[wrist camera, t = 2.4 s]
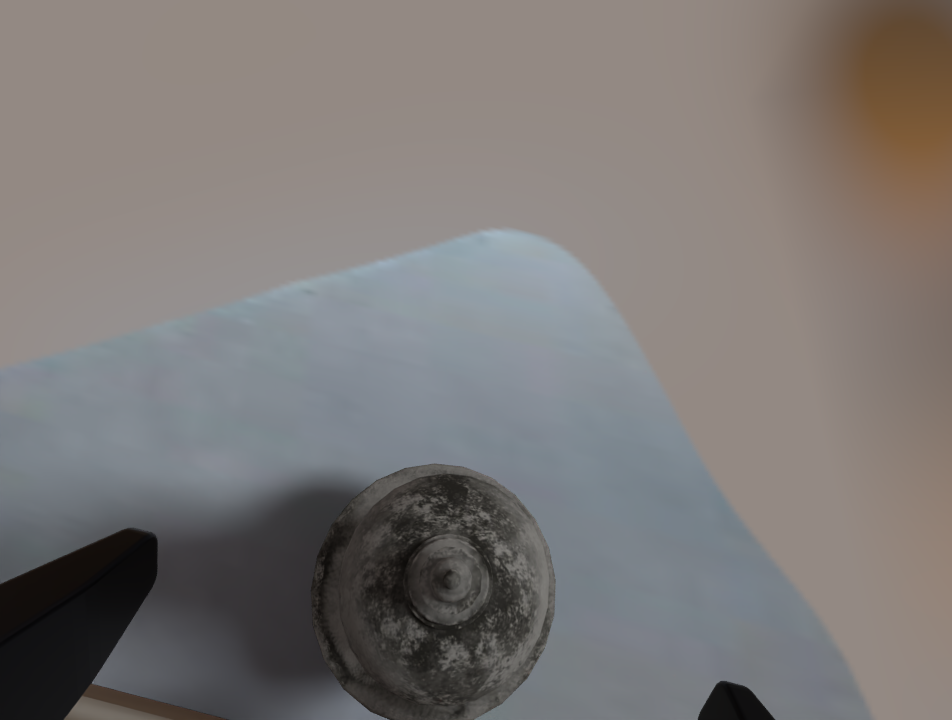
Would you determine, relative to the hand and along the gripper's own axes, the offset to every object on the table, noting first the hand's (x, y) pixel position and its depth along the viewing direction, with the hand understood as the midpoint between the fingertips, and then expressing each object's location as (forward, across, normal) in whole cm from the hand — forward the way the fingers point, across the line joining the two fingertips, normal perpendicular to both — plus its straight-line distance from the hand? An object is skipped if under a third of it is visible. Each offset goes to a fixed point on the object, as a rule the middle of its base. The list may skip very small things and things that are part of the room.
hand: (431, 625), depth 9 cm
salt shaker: (+6, 0, +6) cm, 9 cm away
